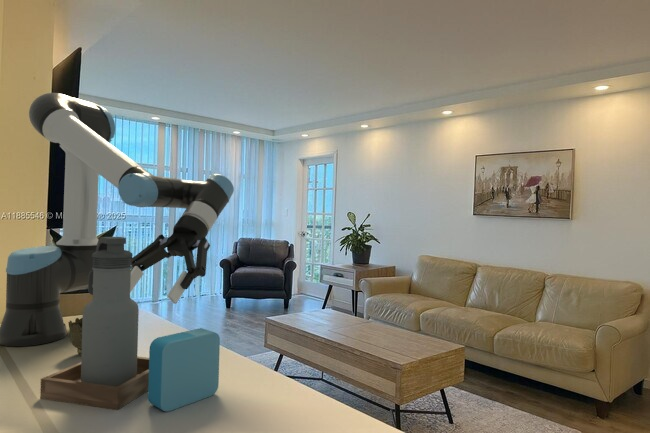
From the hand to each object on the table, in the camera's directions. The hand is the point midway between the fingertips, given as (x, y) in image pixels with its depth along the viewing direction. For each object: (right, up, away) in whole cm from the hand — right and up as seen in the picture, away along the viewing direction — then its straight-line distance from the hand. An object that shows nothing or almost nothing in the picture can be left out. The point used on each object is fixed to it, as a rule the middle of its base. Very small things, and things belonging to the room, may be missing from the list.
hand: (146, 296), depth 94 cm
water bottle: (-4, -15, -8) cm, 18 cm away
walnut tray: (-4, -16, -8) cm, 18 cm away
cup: (-19, -16, +11) cm, 26 cm away
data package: (+12, -17, -13) cm, 24 cm away
